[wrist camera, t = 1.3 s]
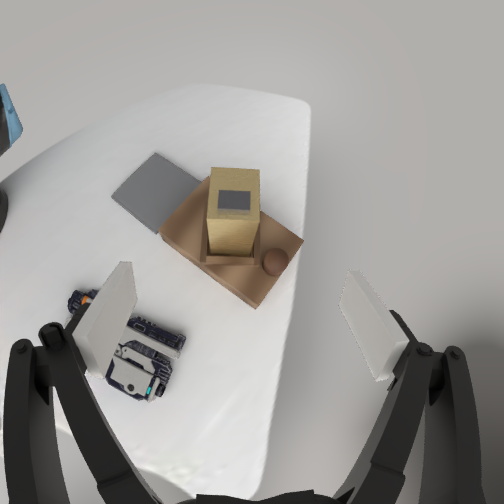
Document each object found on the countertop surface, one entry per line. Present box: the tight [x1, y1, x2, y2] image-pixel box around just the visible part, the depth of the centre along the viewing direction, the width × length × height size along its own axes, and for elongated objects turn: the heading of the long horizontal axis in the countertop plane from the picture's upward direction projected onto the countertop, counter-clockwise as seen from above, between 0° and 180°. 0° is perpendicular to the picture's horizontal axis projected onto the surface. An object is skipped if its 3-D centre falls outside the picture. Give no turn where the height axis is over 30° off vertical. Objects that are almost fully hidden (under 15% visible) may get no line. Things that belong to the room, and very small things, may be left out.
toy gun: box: [65, 289, 186, 402], centre depth 33 cm, size 3×20×15 cm
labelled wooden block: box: [207, 167, 260, 257], centre depth 32 cm, size 5×6×12 cm
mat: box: [111, 153, 202, 235], centre depth 43 cm, size 11×11×1 cm
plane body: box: [158, 176, 304, 309], centre depth 38 cm, size 17×11×6 cm
